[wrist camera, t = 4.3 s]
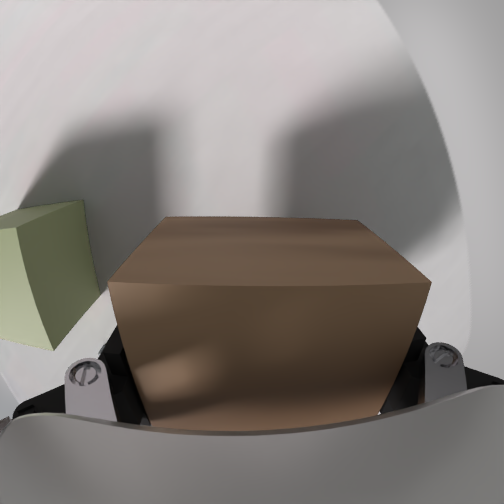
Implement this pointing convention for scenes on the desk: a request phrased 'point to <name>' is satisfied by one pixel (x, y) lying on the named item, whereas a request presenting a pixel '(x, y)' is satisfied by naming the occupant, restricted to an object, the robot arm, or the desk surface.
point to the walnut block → (264, 321)
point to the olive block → (45, 273)
